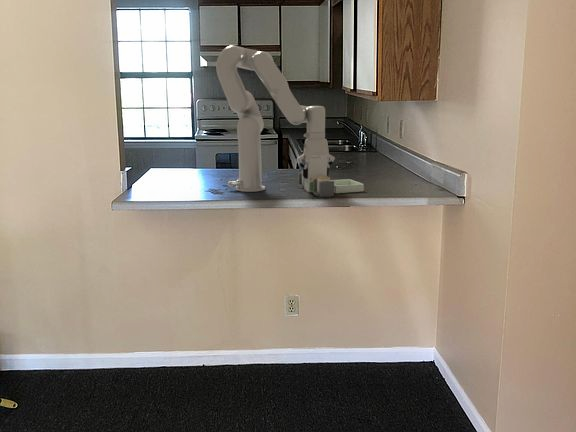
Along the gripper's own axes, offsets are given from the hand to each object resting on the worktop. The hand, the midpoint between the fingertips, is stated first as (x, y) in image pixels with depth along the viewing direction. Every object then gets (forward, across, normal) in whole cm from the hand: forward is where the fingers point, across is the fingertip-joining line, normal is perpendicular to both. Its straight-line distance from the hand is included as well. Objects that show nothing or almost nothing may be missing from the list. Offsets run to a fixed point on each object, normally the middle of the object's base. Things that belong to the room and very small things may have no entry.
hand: (315, 177), depth 258 cm
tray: (+6, +12, -1) cm, 14 cm away
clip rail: (+6, 0, 0) cm, 6 cm away
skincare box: (+6, 0, 0) cm, 6 cm away
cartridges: (+6, 0, 0) cm, 6 cm away
